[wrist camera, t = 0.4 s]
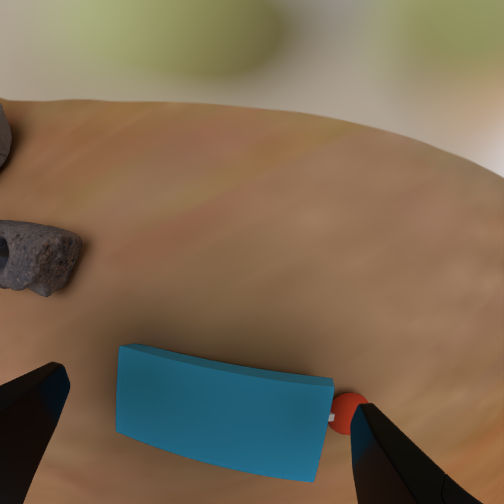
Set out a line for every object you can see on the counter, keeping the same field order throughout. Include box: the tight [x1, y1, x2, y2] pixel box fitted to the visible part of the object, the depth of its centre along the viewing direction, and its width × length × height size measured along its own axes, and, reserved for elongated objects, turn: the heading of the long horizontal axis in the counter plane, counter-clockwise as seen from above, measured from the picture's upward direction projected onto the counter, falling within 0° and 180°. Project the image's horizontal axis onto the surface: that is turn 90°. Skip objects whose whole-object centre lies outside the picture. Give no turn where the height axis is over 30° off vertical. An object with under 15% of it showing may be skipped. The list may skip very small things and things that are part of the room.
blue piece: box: [116, 344, 368, 482], centre depth 20 cm, size 7×7×18 cm
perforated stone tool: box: [0, 220, 82, 297], centre depth 18 cm, size 15×5×7 cm, turn 83°
